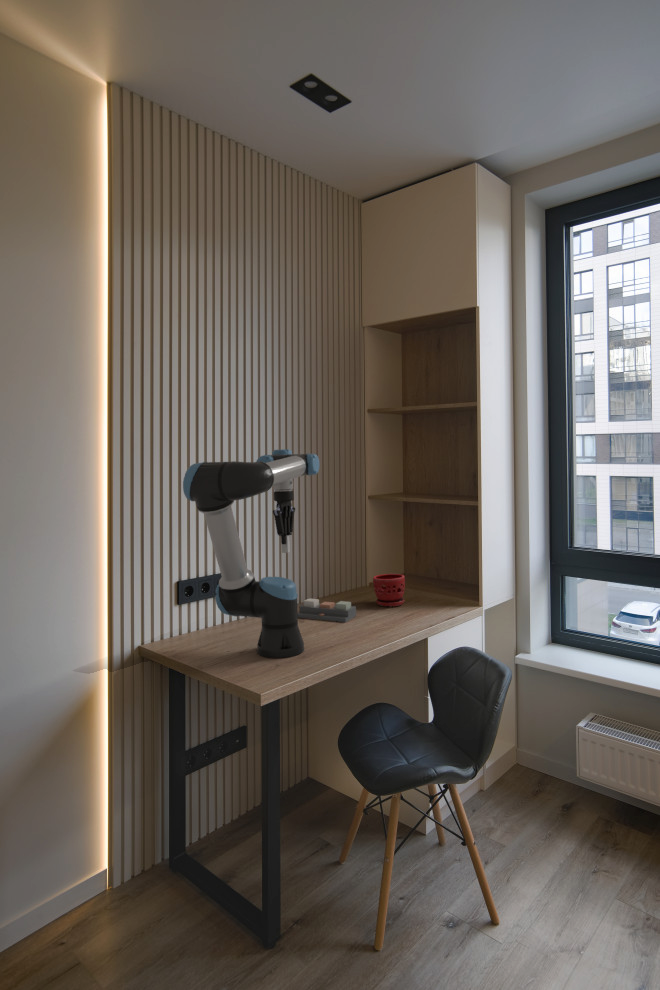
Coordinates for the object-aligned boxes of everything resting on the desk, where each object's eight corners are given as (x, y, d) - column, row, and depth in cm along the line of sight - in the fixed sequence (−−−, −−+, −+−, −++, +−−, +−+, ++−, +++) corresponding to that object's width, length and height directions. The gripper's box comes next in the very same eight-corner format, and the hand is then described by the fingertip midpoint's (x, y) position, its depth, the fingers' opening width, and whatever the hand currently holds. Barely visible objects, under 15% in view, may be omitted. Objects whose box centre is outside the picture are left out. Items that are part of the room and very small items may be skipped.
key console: (345, 622, 229) (345, 612, 229) (296, 617, 239) (296, 607, 238) (356, 616, 238) (355, 606, 237) (308, 611, 247) (307, 602, 247)
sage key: (346, 612, 233) (346, 604, 233) (335, 611, 235) (335, 603, 235) (351, 609, 237) (350, 601, 237) (340, 608, 239) (340, 601, 239)
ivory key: (313, 609, 239) (313, 601, 239) (304, 608, 241) (303, 600, 241) (319, 606, 243) (318, 599, 243) (309, 605, 245) (309, 598, 245)
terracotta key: (330, 612, 236) (329, 605, 236) (319, 611, 238) (319, 604, 238) (335, 610, 240) (334, 602, 240) (325, 609, 242) (324, 601, 242)
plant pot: (405, 600, 260) (404, 572, 260) (405, 608, 247) (404, 578, 247) (374, 600, 262) (373, 573, 261) (373, 608, 249) (372, 579, 248)
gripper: (283, 491, 223) (285, 555, 225) (300, 489, 235) (302, 550, 236) (265, 491, 227) (268, 554, 228) (283, 489, 238) (286, 549, 240)
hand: (285, 552), depth 232 cm, fingers closed
